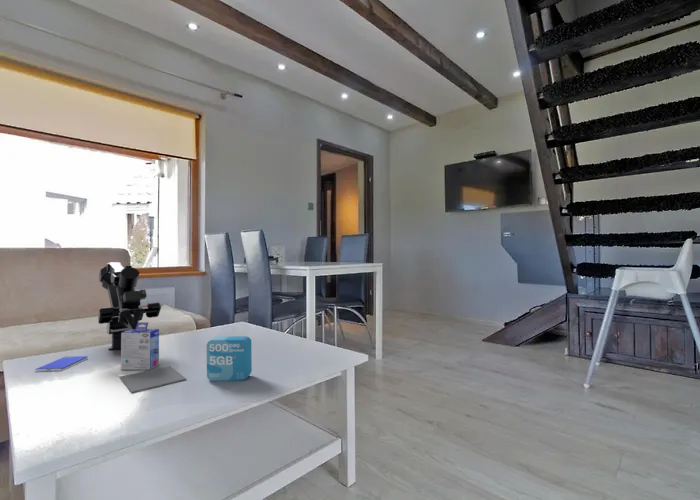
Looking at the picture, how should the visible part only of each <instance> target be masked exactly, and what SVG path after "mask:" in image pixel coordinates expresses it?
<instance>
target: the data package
mask: <svg viewBox="0 0 700 500" xmlns="http://www.w3.org/2000/svg"><path fill="white" fill-rule="evenodd" d="M252 360H253V359H252V339H251V337H249V336H246V335H245V336H242V335H241V336H230V335H229V336H215V337H213V338H211V339H210V340H208V341H207V343H206V379H207V380H209V381H211V382H219V381H220V382H221V381H222V382H230V381H232V382H234V381H235V382H239V381H240V382H241V381H245V380H246V379H248V377H249V376H250V375H251V374H252V371H253V368H252V363H253V362H252Z"/></svg>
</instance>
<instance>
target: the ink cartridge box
mask: <svg viewBox="0 0 700 500" xmlns="http://www.w3.org/2000/svg"><path fill="white" fill-rule="evenodd" d="M141 325H144V326H141ZM148 326H149V322H140V321H138V324H137V326H136V329H135V330H128V331H125V332H122V333H121V349H120V370H122V371H127V370H128V371H129V370H132V371H134V370H136V371H137V370H139V371H141V370H142V371H148V370H152V369H155V368H156V367H157V366H159V365H160V329H159V328H148Z"/></svg>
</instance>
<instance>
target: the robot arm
mask: <svg viewBox="0 0 700 500" xmlns="http://www.w3.org/2000/svg"><path fill="white" fill-rule="evenodd" d="M139 278H140V271H139V270H138V269H137V268H135V267H133V266H132V265H125V266H123V265H122V262H119V261H117V262H116V261H115V262H107V263H106V265H105V266H104V267H103V268H101V269H100V270H99V273H98V281H99V283H101V287H102V288H103V289H105V290H106V291H107V294H108V298H109V303H110V306H108V307H106V306H105V307H100V308H99V309H98V313H97V314H98V315H97V321H98V324H100V325H102V324H106V333H107V334H108V335H111V346H110V347H108V350H109V351H110V350H111V351H113V350H121V333H122V332H125V331H128V330H135V329H136V326H137V324H138V322H140V321H142V320H143V317H144V314H145V316H146V318H150V319H151V318H157V317H159V315H160V312H161V310H162V305H161V303H160V302H158V301H157V302H150V303H147V306H145V307H142V306H141V300H146V298H147V291H146V290H147V289H139V290H136V289H135V288H136V287H137V285H138V281H139Z"/></svg>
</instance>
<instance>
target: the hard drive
mask: <svg viewBox="0 0 700 500" xmlns="http://www.w3.org/2000/svg"><path fill="white" fill-rule="evenodd" d="M86 360H89V359H88V356H87V355H79V356H78V355H76V356H75V355H74V356H63V357H60V358H58V359H56V360H54V361H51V362H49V363H47V364H44V365H41V366H39V367H38V368H35V370H34V372H35V373H36V372H37V373H38V372H61V371H65V370H67V369H69V368H71V367H73V366H75V365H78V364H80V363H81V362H84V361H86Z"/></svg>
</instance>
